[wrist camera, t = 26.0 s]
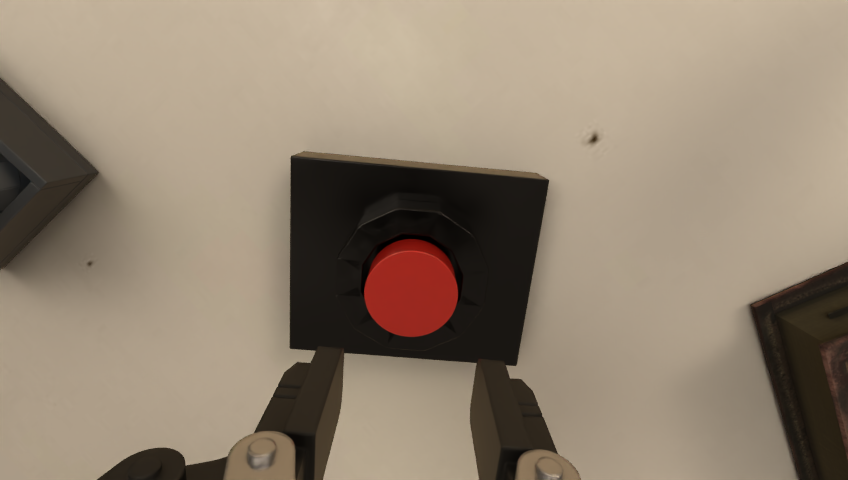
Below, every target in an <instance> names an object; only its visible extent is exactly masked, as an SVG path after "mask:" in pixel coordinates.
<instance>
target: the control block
mask: <svg viewBox="0 0 848 480" xmlns="http://www.w3.org/2000/svg"><path fill="white" fill-rule="evenodd" d="M548 184H549V180H548V179H546V178H544V177H543V176H541V175H539V174H537V173H531V172H520V171H509V170H499V169H488V168H477V167H466V166H456V165H445V164H434V163H423V162H413V161H402V160H391V159H380V158H370V157H359V156H348V155H337V154H327V153H316V152H305V151H303V152H301V153H298V154H296V155H293V156H291V208H290V349H301V350H314V351H316V350H317V347H318V346H323V347H336V348H344V353H353V354H366V355H380V356H393V357H406V358H419V359H432V360H445V361H458V362H471V363H477V361H478V359H488V360H501V361H504V362H505V365H511V366H516V365H517V360H518V354H519V348H520V343H521V337H522V331H523V326H524V320H525V314H526V309H527V303H528V297H529V292H530V286H531V280H532V275H533V269H534V264H535V258H536V252H537V247H538V241H539V235H540V230H541V224H542V218H543V213H544V207H545V201H546V196H547V190H548ZM404 239H419V240H424V241H427V242H429V243H432V244H434V245H435V246H437V247H438V248H440V249H441V250H442V251H443V252H444V253H445V254H446V255H447V257H448V258H449V260H450V261H451V263H452V266H453V269H454V273H455V278H456V282H457V287H458V300H457V305H456V307H455V310H454V312H453V314H452V316H451V317H450V318H449V320H448V321H447V322H446V323H445V324H444V325H443V326H442V327H440V328H439V329H437V330H436V331H434V332H432V333H429V334H426V335H423V336H416V337H406V336H400V335H396V334H393V333H391V332H389V331H387V330H385V329H384V328H382V327H381V326H380V325H379V324H378V323H376V321H375V320H374V319H373V318H372V316H371V315H370V313H369V311H368V309H367V307H366V303H365V298H364V289H365V283H366V280H367V277H368V273H369V270H370V267H371V264H372V262H373V260H374V259H375V257H376V256H377V254H378V253H379V252H380V251H381V250H382V249H384V248H385V247H386V246H388V245H390V244H392V243H394V242H396V241H400V240H404Z"/></svg>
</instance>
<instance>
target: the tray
mask: <svg viewBox="0 0 848 480" xmlns="http://www.w3.org/2000/svg"><path fill="white" fill-rule="evenodd" d="M0 153H1V154H2V155H3V156H4V157H5V158H6V159H7V160H8V161H10V162H11V163H12V164H13V165H14V166H15V167H16V168H17V169H18V170H19V171H21V172H22V173H23V174H24V175H25V176H26V177H27V178H28V179H29V180H30V183H29V184H28V186H27V187H26V188H25V189H24V190H23V191H22V192H21V193H20V194H19V195H18V196H17V197H16V198H15V199H14V200H13V201H12V202H11V203H10V204H9V205H8V206H7V207H6V208H5V209H4V211H3V212H2V213H1V214H0V270H1V269H3V268H4V267H5V266H6V265H7V264H8V263H9V262H10V261H11V260H12V259H13V258H14V257H15V256H16V255H17V254H18V253H19V252H20V251H21V250H22V249H23V248H24V247H25V246H26V245H27V244H28V243H29V242H30V241H31V240H32V239H33V238H34V237H35V236H36V235H37V234H38V233H39V232H40V231H41V230H42V229H43V228H44V227H45V226H46V225H47V224H48V223H49V222H50V221H51V220H52V219H53V218H54V217H55V216H56V215H57V214H58V213H59V212H60V211H61V210H62V209H63V208H64V207H65V206H66V205H67V204H68V203H69V202H70V201H71V200H72V199H73V198H74V197H75V196H76V195H77V194H78V193H79V192H80V191H81V190H82V189H83V188H84V187H85V186H86V185H87V184H88V183H89V182H90V181H91V180H92V179H93V178H94V177H95V176H96V175H97V174H98V171H97V170H96V169H95V168H94V167H93V166H92V165H91V164H90V163H89V162H88V161H87V160H86V159H85V158H83V157H82V156H81V155H80V154H79V153H78V152H77V151H76V150H75V149H74V148H73V147H72V146H71V145H70V144H69V143H68V142H67V141H66V140H65V139H64V138H62V137H61V136H60V135H59V134H58V133H57V132H56V131H55V130H54V129H53V128H52V127H51V126H50V125H49V124H48V123H47V122H46V121H45V120H44V119H43V118H41V117H40V116H39V115H38V114H37V113H36V112H35V111H34V110H33V109H32V108H31V107H30V106H29V105H28V104H27V103H26V102H25V101H24V100H23V99H22V98H20V97H19V96H18V95H17V94H16V93H15V92H14V91H13V90H12V89H11V88H10V87H9V86H8V85H7V84H6V83H5V82H4V81H3V80H2V79H1V78H0Z"/></svg>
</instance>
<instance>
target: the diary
mask: <svg viewBox="0 0 848 480" xmlns="http://www.w3.org/2000/svg"><path fill="white" fill-rule="evenodd" d="M751 307H752V311H753V314H754V318H755V321H756V325H757V329H758V332H759V336H760V339H761V343H762V346H763V350H764V353H765V357H766V360H767V364H768V367H769V371H770V374H771V378H772V382H773V385H774V389H775V392H776V396H777V399H778V403H779V406H780V410H781V413H782V417H783V420H784V424H785V427H786V431H787V434H788V438H789V442H790V445H791V449H792V452H793V456H794V459H795V463H796V466H797V470H798V473H799V477H800V480H848V262H847V263H845V264H843V265H841V266H838V267H836V268H834V269H832V270H829V271H827V272H825V273H823V274H820V275H818V276H816V277H814V278H811V279H809V280H807V281H805V282H802V283H800V284H798V285H796V286H793V287H791V288H789V289H787V290H784V291H782V292H780V293H778V294H775V295H773V296H771V297H769V298H766V299H764V300H761V301H759V302H756V303H754V304H751Z"/></svg>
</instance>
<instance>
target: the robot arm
mask: <svg viewBox="0 0 848 480" xmlns="http://www.w3.org/2000/svg"><path fill="white" fill-rule="evenodd" d="M343 366H344V348H336V347H323V346H318V347H317V350H316V352H315V354H314V357H313V359H312V361H311V363H301V362H297V363H296V364H294V365H293V366H292V367H291V368H289V369H288V370H287V371H286V372H284V374H283V376H282V378H281V380H280V382H279V384H278V387H277V388H276V390H275V392H274V394H273V397H272V398H271V400H270V402H269V404H268V406H267V408H266V410H265V412H264V414H263V416H262V418H261V420H260V422H259V424H258V426H257V428H256V430H255V432H254V433H253V434H251V435H248V436H246V437H244V438H242V439H241V440H240V441H238V442H237V443H236V444H235V445H234V446H233V447H232V449H231V450H230V452H229V454H228V456H227V457H224V458H221V459H218V460H214V461H209V462H204V463H198V464H193V465H187V466H185V459H184V457H183V455H182V454H181V453H180V452H178V451H176V450H174V449H170V448H153V449H148V450H144V451H141V452H138V453H136V454H134V455H131V456H130V457H128V458H126V459H124V460H123V461H121V462H120V463H118V464H117V465H116V466H114V467H113V468H112V469H111V470H109V471H108V472H107V473H105V474H104V475H103V476H101V477H100V478H99V479H97V480H323V477H324V473H325V469H326V465H327V461H328V457H329V453H330V450H331V446H332V442H333V438H334V434H335V430H336V426H337V422H338V419H339V414H340V409H341V401H342V388H343ZM470 424H471V431H472V438H473V444H474V450H475V456H476V462H477V468H478V475H479V480H581V478H580V475H579V473H578V471H577V470H576V468H575V467H574V466H573V465H572V464H571V463H570V462H569V461H568V460H566V459H565V458H564V457H562V456H560V455H558V453H557V450H556V448H555V445H554V443H553V440H552V438H551V435H550V433H549V430H548V428H547V425H546V423H545V420H544V418H543V417H542V413H541V410H540V408H539V406H538V403H537V400H536V398H535V395H534V393H533V391H532V390H531V389H530V388H529V387H528V386H527V385H526V384H525V383H524V382H523V381H522V380H521V379H510V377H509V374H508V371H507V368H506V365H505V362H504V361H501V360H488V359H478V361H477V365H476V371H475V378H474V385H473V392H472V399H471V407H470Z"/></svg>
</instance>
